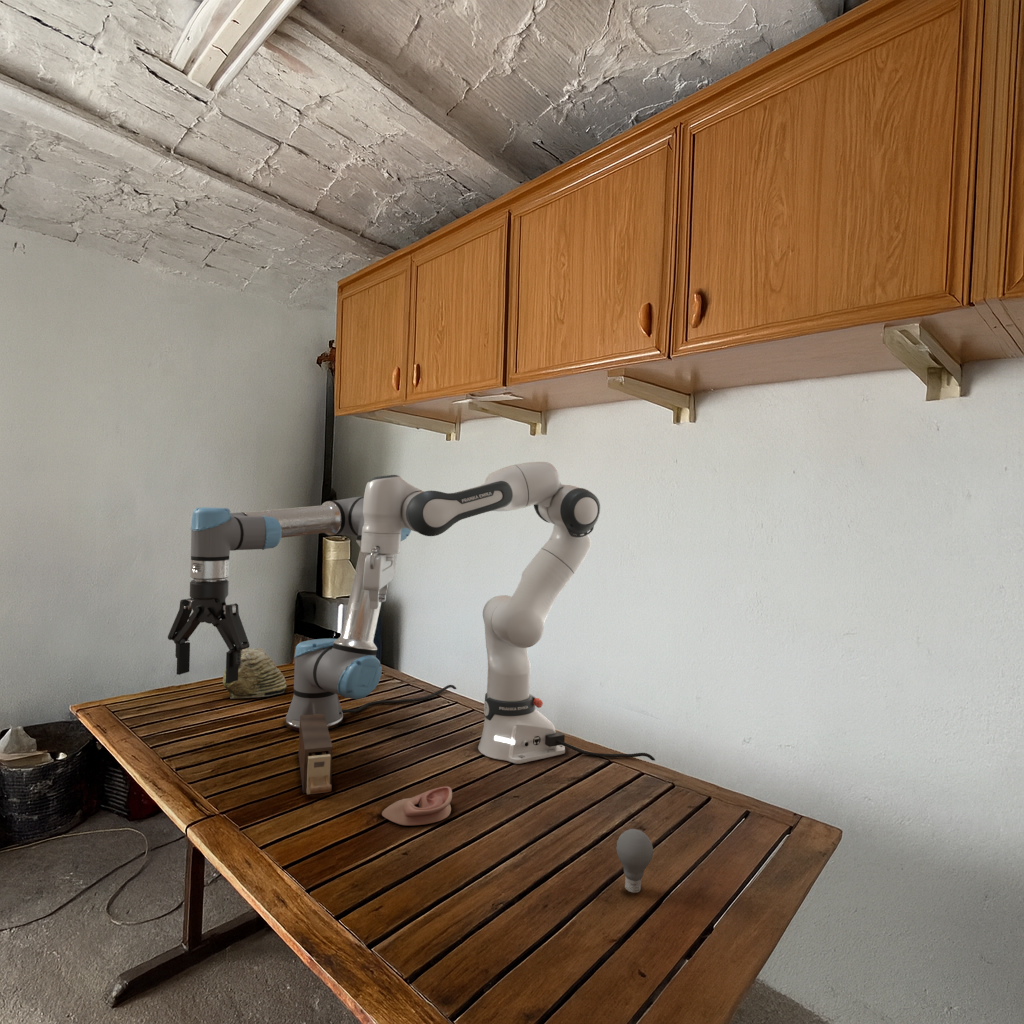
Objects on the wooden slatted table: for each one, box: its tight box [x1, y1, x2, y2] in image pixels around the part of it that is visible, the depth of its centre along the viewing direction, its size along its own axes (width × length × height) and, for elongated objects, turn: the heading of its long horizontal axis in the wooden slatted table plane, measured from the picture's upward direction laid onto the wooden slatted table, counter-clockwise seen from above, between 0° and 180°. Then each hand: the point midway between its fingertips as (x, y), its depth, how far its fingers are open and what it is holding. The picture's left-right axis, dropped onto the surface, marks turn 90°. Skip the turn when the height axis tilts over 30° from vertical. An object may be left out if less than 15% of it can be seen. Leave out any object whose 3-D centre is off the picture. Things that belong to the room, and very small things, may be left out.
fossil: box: [222, 647, 288, 699], centre depth 198 cm, size 9×18×15 cm, turn 132°
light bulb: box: [615, 828, 654, 894], centre depth 106 cm, size 6×6×10 cm
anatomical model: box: [381, 785, 453, 827], centre depth 129 cm, size 13×4×12 cm
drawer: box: [306, 751, 333, 795], centre depth 140 cm, size 27×4×8 cm, turn 21°
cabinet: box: [298, 714, 333, 794], centre depth 146 cm, size 22×6×10 cm, turn 21°
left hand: (207, 677), depth 137 cm, fingers open, 13 cm apart
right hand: (377, 605), depth 146 cm, fingers open, 8 cm apart
